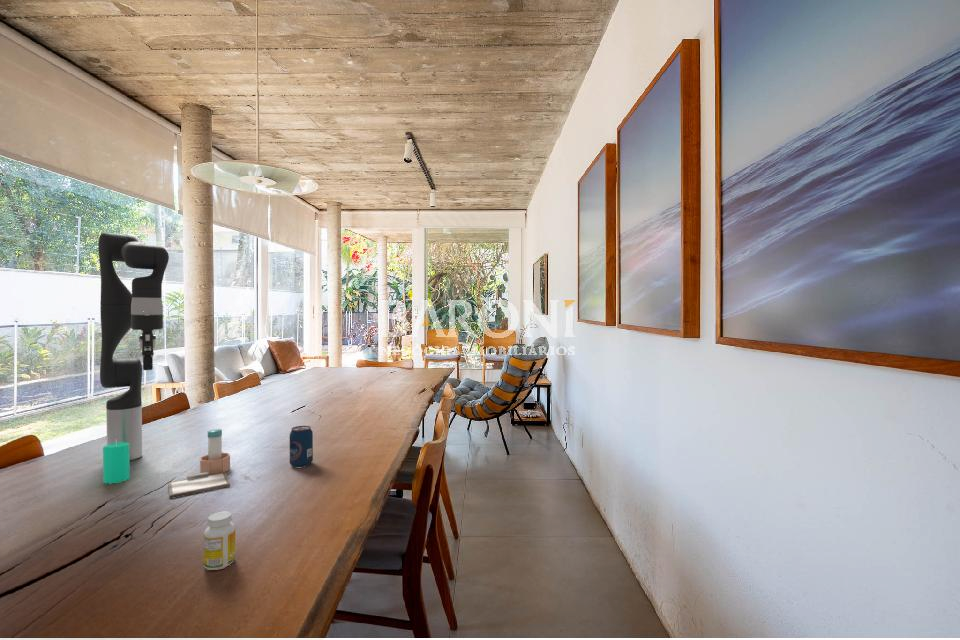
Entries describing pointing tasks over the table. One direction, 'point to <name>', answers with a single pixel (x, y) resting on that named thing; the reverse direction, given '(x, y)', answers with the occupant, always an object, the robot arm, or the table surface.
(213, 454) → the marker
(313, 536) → the table surface
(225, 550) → the supplement bottle
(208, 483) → the clipboard
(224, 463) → the pen cup
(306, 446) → the soda can
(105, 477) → the candle
